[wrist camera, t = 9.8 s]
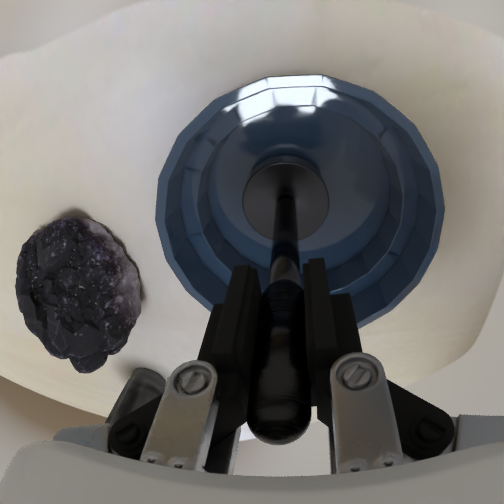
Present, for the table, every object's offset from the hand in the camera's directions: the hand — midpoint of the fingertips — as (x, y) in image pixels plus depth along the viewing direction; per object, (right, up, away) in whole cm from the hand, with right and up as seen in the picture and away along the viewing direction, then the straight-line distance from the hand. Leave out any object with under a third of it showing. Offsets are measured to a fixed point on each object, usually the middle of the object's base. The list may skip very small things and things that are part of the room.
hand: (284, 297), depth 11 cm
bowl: (+2, +6, +10) cm, 12 cm away
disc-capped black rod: (+1, +5, +9) cm, 10 cm away
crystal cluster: (-17, 0, +17) cm, 24 cm away
